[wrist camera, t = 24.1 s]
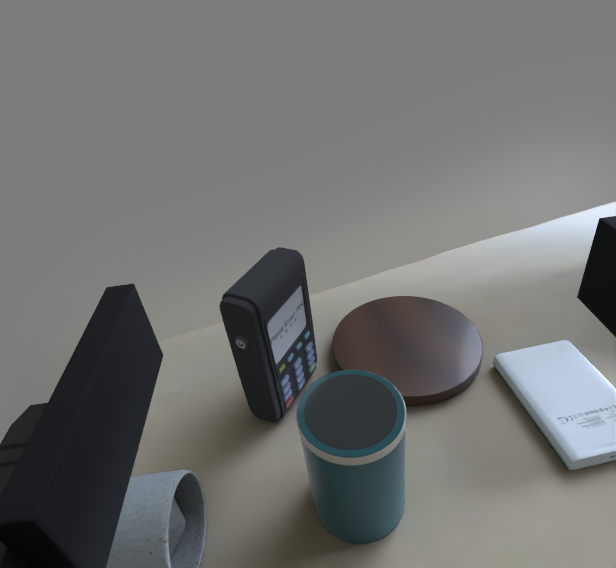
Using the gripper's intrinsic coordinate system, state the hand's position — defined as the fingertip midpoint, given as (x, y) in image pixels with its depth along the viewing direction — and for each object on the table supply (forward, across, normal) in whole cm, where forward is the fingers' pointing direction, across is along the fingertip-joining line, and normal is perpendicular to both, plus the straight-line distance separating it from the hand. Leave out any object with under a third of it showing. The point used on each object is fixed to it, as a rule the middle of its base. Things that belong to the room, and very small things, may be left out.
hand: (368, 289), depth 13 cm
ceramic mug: (+6, -16, -28) cm, 33 cm away
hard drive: (+16, +21, -28) cm, 38 cm away
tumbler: (+10, 0, -28) cm, 30 cm away
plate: (+26, +8, -28) cm, 39 cm away
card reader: (+22, -6, -28) cm, 36 cm away
